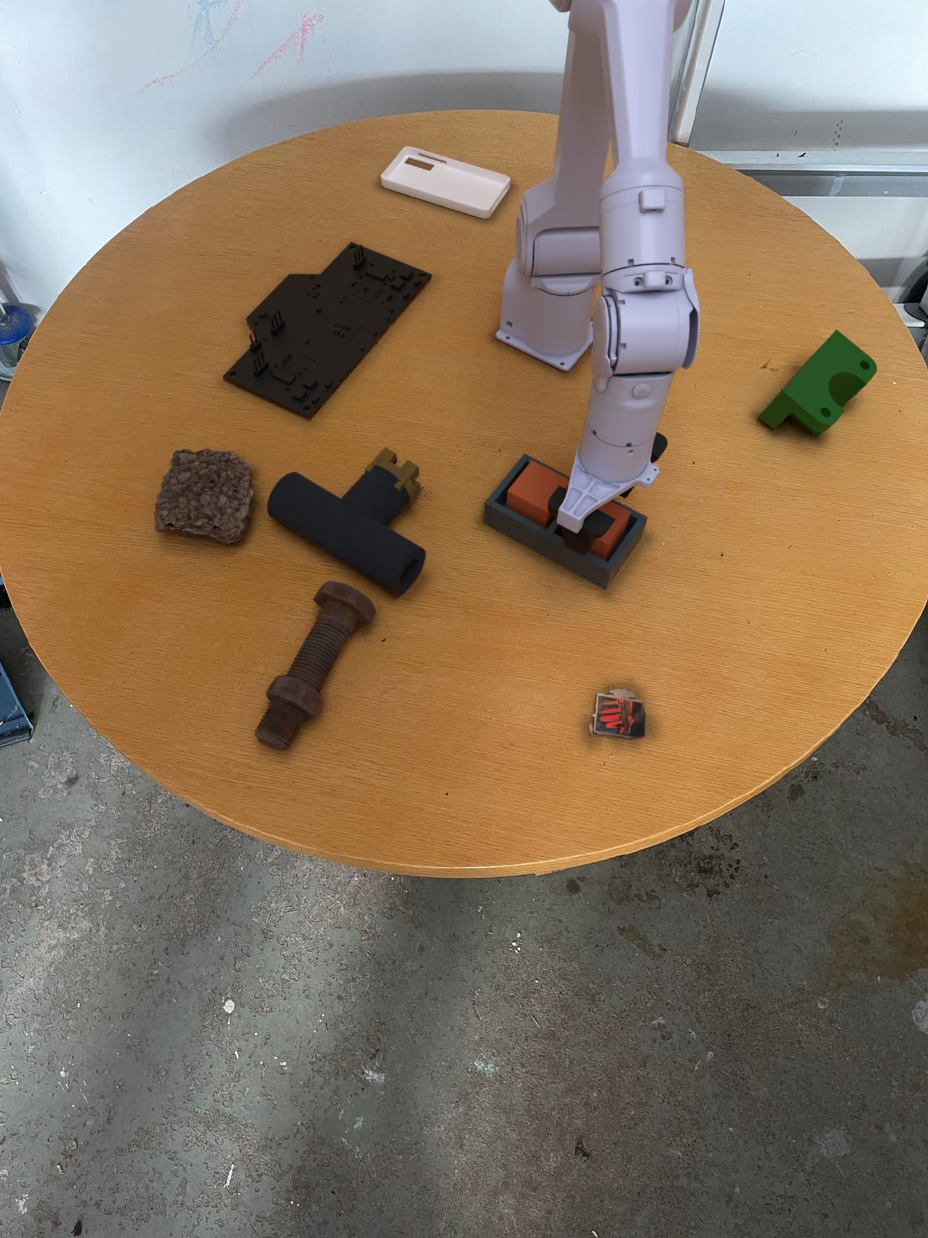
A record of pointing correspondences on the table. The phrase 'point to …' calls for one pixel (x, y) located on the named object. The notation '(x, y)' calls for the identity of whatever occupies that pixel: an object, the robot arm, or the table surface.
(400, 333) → the table surface
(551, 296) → the robot arm
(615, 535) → the red cube
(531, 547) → the grey rectangular tray
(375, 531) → the pipe connector
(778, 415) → the clamp
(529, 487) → the orange cube
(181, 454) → the concrete sample
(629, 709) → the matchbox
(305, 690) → the bolt
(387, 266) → the circuit board
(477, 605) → the table surface
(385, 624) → the table surface
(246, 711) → the table surface
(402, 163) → the phone case
